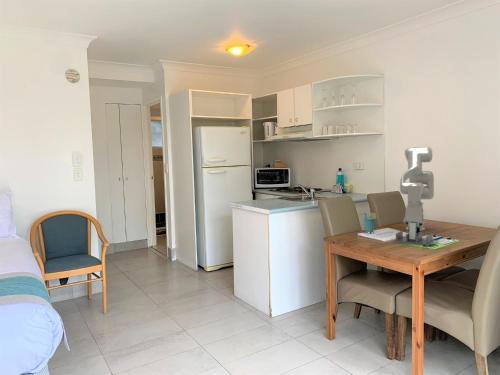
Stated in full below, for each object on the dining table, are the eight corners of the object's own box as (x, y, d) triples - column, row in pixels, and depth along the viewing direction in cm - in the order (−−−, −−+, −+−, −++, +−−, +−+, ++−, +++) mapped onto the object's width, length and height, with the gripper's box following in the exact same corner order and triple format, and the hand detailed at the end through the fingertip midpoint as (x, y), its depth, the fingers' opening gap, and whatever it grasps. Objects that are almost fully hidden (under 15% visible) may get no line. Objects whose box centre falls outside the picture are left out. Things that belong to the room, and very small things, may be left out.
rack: (400, 238, 254) (400, 230, 254) (433, 241, 242) (433, 233, 241) (394, 242, 244) (394, 233, 243) (428, 246, 232) (428, 237, 231)
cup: (365, 234, 269) (365, 213, 268) (357, 233, 276) (357, 212, 275) (379, 232, 276) (379, 211, 275) (371, 230, 283) (370, 210, 282)
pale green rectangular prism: (413, 236, 247) (413, 221, 246) (418, 237, 245) (418, 221, 244) (409, 238, 241) (409, 222, 240) (415, 239, 239) (415, 223, 238)
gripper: (430, 203, 239) (429, 233, 240) (402, 202, 249) (402, 230, 250) (426, 205, 233) (426, 235, 234) (398, 203, 243) (398, 232, 245)
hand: (414, 232), depth 242 cm, fingers closed on pale green rectangular prism, 3 cm apart
